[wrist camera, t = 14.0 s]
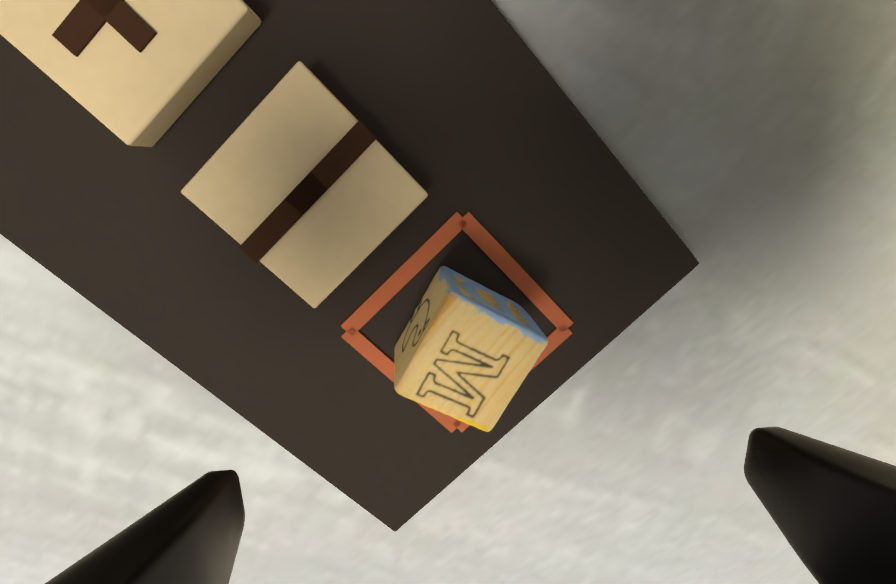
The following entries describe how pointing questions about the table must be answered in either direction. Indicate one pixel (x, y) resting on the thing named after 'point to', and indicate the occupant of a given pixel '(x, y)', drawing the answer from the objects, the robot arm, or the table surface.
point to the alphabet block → (466, 350)
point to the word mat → (319, 206)
